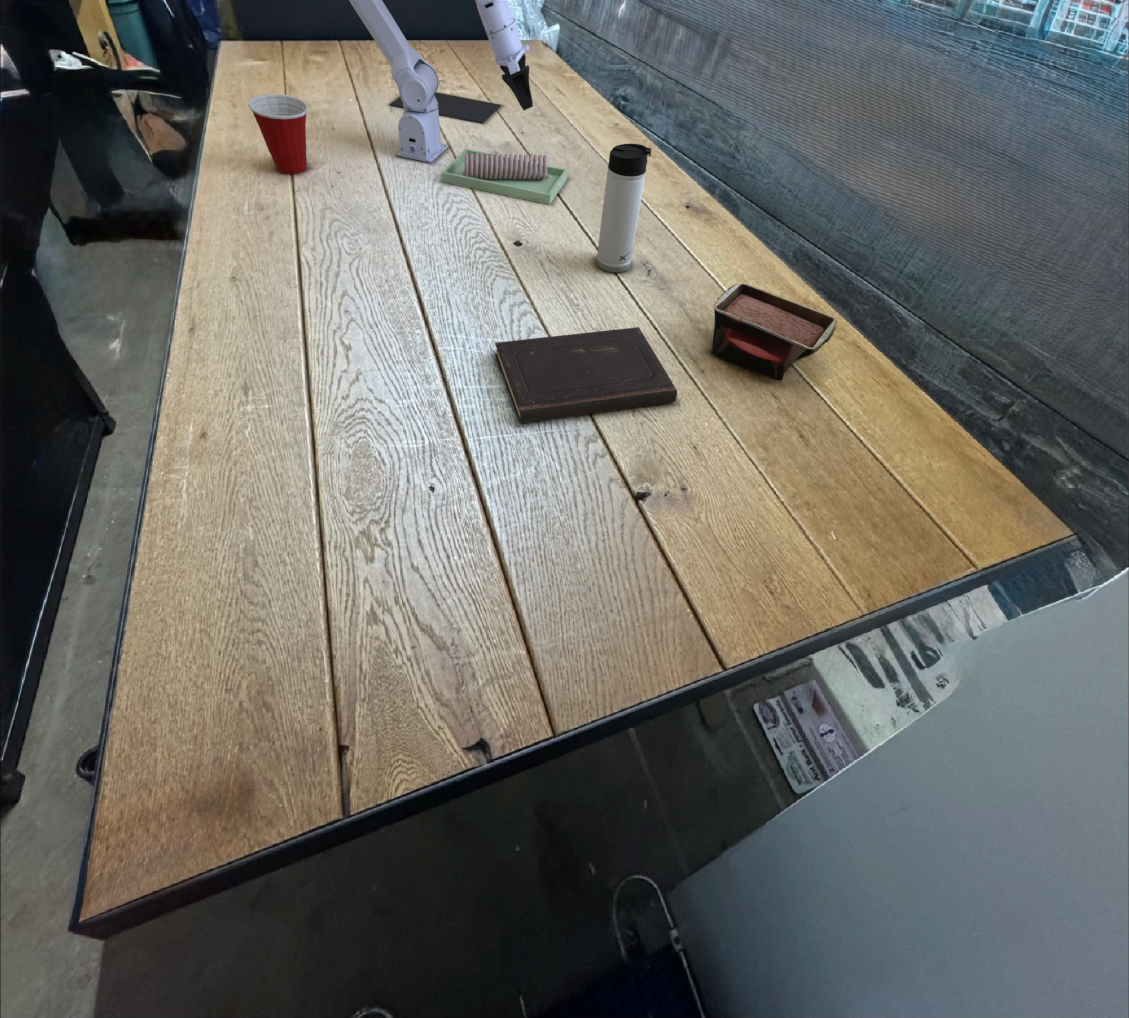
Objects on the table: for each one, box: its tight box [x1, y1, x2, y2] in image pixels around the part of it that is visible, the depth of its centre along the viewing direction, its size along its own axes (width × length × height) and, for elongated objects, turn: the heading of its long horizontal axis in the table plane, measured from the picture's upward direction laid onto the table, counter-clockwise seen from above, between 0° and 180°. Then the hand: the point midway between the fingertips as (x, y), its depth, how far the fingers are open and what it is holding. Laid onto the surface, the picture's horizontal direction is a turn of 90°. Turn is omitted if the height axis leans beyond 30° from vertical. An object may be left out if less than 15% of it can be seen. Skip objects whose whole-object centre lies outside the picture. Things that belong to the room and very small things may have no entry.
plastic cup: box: [247, 93, 309, 175], centre depth 128 cm, size 11×11×12 cm
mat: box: [389, 91, 502, 125], centre depth 161 cm, size 13×24×1 cm, turn 74°
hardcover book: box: [494, 326, 678, 424], centre depth 95 cm, size 16×23×2 cm
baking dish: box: [710, 282, 838, 381], centre depth 101 cm, size 14×18×10 cm
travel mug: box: [595, 143, 652, 273], centre depth 111 cm, size 6×7×20 cm
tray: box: [441, 148, 569, 205], centre depth 136 cm, size 13×23×2 cm, turn 74°
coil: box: [463, 153, 549, 180], centre depth 135 cm, size 5×5×18 cm
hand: (526, 102), depth 135 cm, fingers open, 7 cm apart
